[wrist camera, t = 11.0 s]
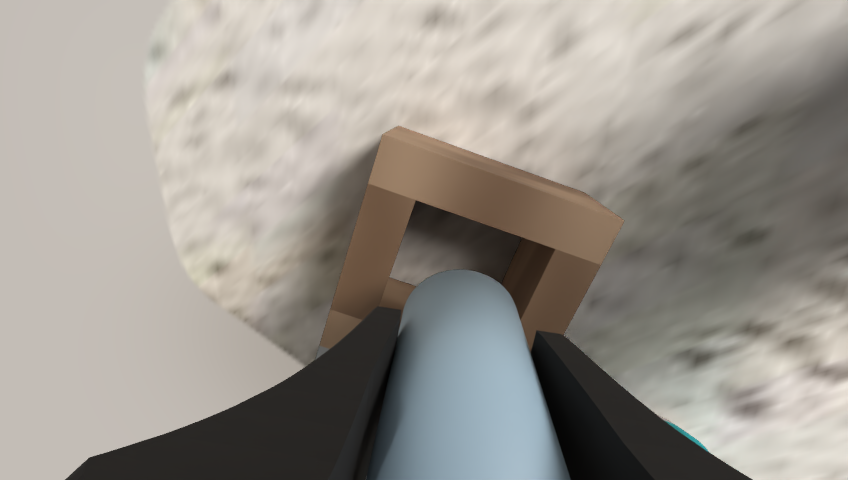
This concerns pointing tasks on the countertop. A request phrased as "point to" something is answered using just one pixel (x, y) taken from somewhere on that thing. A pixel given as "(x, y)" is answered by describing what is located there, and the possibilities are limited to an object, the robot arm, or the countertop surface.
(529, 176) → the block
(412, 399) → the dowel
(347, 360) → the robot arm
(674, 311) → the countertop surface
